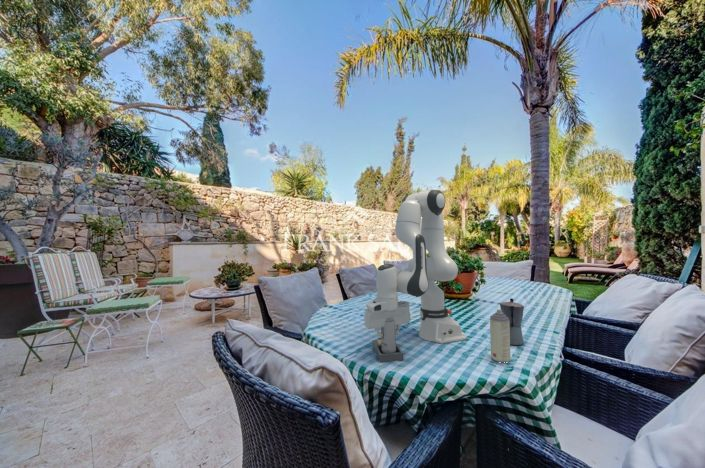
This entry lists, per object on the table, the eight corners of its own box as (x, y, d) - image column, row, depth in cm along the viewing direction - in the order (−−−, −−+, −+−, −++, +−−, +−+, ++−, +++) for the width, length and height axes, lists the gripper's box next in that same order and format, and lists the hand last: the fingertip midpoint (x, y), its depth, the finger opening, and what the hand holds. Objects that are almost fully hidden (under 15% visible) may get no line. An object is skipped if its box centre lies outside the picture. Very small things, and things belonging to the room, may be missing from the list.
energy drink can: (379, 350, 117) (378, 315, 117) (392, 348, 119) (391, 314, 119) (384, 356, 111) (383, 319, 111) (398, 354, 113) (397, 318, 113)
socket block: (393, 345, 126) (393, 337, 126) (403, 360, 111) (403, 352, 111) (372, 346, 125) (372, 339, 125) (379, 362, 110) (379, 354, 110)
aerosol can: (498, 354, 114) (497, 306, 114) (514, 361, 107) (513, 310, 107) (487, 357, 111) (485, 308, 111) (502, 365, 105) (501, 313, 105)
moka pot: (522, 337, 130) (521, 296, 130) (527, 351, 116) (526, 304, 116) (500, 335, 134) (498, 294, 134) (502, 347, 120) (501, 302, 120)
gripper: (405, 298, 121) (406, 329, 121) (362, 304, 115) (363, 336, 115) (412, 302, 115) (413, 334, 115) (367, 308, 109) (369, 342, 109)
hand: (388, 336), depth 115 cm, fingers closed on energy drink can, 6 cm apart
